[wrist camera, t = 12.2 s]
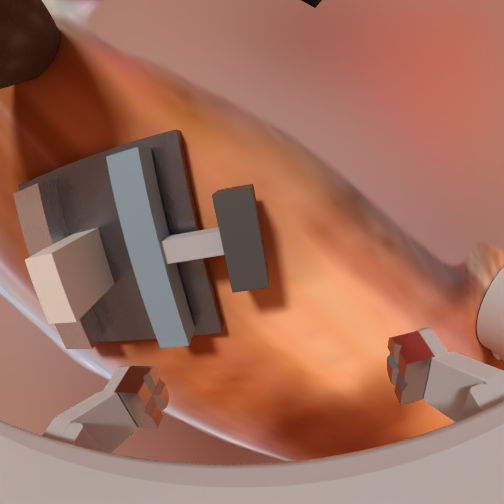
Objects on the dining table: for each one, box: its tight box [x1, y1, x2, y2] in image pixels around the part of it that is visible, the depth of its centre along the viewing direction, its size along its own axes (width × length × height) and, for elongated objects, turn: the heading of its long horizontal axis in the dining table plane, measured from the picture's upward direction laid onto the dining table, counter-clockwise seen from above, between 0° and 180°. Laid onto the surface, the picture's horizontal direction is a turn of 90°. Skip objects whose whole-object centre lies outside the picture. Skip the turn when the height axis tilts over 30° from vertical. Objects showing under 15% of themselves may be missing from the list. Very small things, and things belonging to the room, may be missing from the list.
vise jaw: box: [106, 147, 269, 348], centre depth 25 cm, size 11×18×3 cm, turn 10°
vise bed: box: [14, 130, 223, 349], centre depth 27 cm, size 20×20×4 cm
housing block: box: [25, 228, 115, 324], centre depth 25 cm, size 4×6×8 cm, turn 10°
